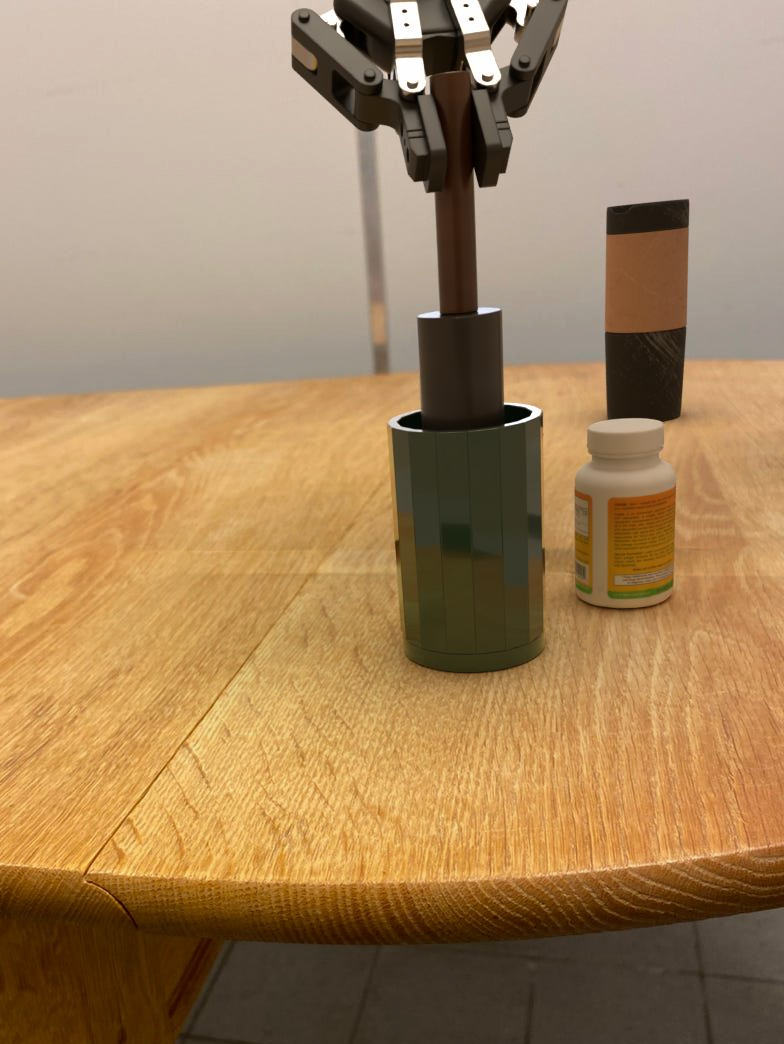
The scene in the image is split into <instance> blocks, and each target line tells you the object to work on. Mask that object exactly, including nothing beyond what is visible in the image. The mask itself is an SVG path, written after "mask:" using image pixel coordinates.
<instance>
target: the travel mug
mask: <svg viewBox="0 0 784 1044" xmlns="http://www.w3.org/2000/svg"><path fill="white" fill-rule="evenodd" d="M605 220H606V221H605V224H606V225H605V234H606V235H605V279H604V281H605V283H604V284H605V285H604V286H605V287H604V290H605V291H604V292H605V293H604V350H605V351H604V354H605V355H604V357H605V393H606V395H605V396H606V416H607V420H613V419H627V418H643V419H653V420H658V421H661V422H664V421H669V420H673V419H676V418H678V417H680V416H681V414H682V403H683V389H684V388H683V387H684V374H685V373H684V372H685V358H686V342H687V341H686V340H687V325H688V324H687V323H688V321H687V320H688V289H689V288H688V286H689V285H688V284H689V283H688V281H689V237H690V236H689V235H690V233H689V232H690V227H689V226H690V199H689V198H682V199H681V198H679V199H670V200H661V201H648V202H640V203H631V204H630V203H629V204H621V205H614V206H613V205H612V206H607V207H606V218H605Z"/></svg>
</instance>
